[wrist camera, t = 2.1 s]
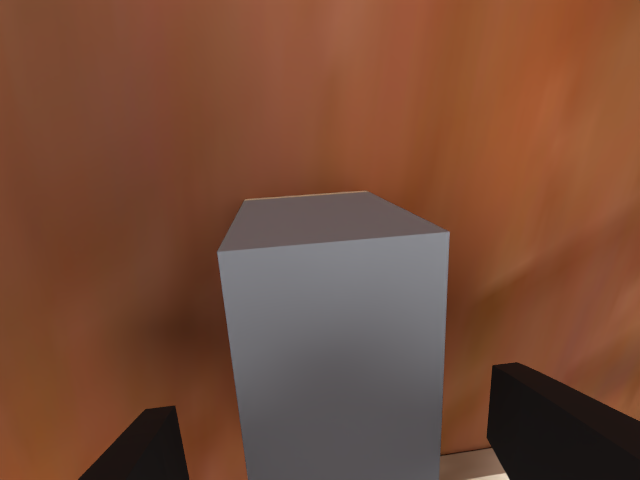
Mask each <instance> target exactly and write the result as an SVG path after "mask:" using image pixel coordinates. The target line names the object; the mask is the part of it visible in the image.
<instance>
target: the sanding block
mask: <svg viewBox="0 0 640 480" xmlns="http://www.w3.org/2000/svg"><path fill="white" fill-rule="evenodd" d="M449 235H450V232H449V231H447V230H445V229H443V228H441V227H439V226H437V225H435V224H433V223H431V222H429V221H427V220H425V219H423V218H421V217H419V216H417V215H415V214H413V213H411V212H409V211H407V210H405V209H402V208H400V207H398V206H396V205H394V204H392V203H390V202H388V201H386V200H384V199H382V198H380V197H378V196H376V195H374V194H372V193H370V192H368V191H353V192H339V193H325V194H311V195H297V196H283V197H269V198H255V199H245V200H244V202H243V204H242V205H241V207H240V209H239V211H238V213H237V215H236V217H235V219H234V221H233V223H232V224H231V226H230V228H229V230H228V232H227V234H226V236H225V238H224V240H223V242H222V244H221V245H220V247H219V249H218V251H217V255H218V262H219V269H220V277H221V284H222V291H223V299H224V306H225V314H226V321H227V328H228V336H229V343H230V350H231V358H232V365H233V372H234V380H235V387H236V395H237V402H238V409H239V417H240V424H241V431H242V439H243V446H244V453H245V461H246V468H247V476H248V480H439V470H440V447H441V423H442V400H443V376H444V352H445V329H446V305H447V282H448V258H449Z"/></svg>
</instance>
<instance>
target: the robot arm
mask: <svg viewBox="0 0 640 480" xmlns="http://www.w3.org/2000/svg"><path fill="white" fill-rule="evenodd" d="M487 439H488V441H489V443H490V445H491V447H492V448H493V450H494V452H495V454H496V456H497V458H498V460H499V462H500V464H501V465H502V467H503V469H504V471H505V472H506V474H507V476H508V478H509V480H640V421H638V420H636V419H634V418H632V417H630V416H627V415H625V414H623V413H621V412H619V411H617V410H615V409H613V408H611V407H609V406H607V405H605V404H603V403H601V402H599V401H597V400H595V399H593V398H591V397H589V396H587V395H585V394H583V393H581V392H579V391H577V390H575V389H573V388H571V387H569V386H567V385H565V384H563V383H561V382H559V381H557V380H555V379H553V378H551V377H549V376H546V375H544V374H542V373H540V372H538V371H536V370H534V369H532V368H529V367H527V366H525V365H522V364H520V363H517V362H515V363H508V364H500V365H493V366H492V378H491V390H490V402H489V415H488V427H487ZM78 480H189V475H188V470H187V465H186V460H185V454H184V449H183V444H182V439H181V434H180V428H179V423H178V418H177V413H176V408H175V406H168V407H160V408H152V409H145V410H144V411H143V412H142V413H141V414H140V415H139V416H138V417H137V418H136V419H135V421H134V422H133V423H132V424H131V425H130V426H129V427H128V428H127V429H126V430H125V431H124V432H123V433H122V434H121V435H120V436H119V437H118V438H117V439H116V440H115V442H114V443H113V444H112V445H111V446H110V447H109V448H108V449H107V450H106V451H105V452H104V453H103V454H102V455H101V456H100V457H99V458H98V459H97V461H96V462H95V463H94V464H93V465H92V466H91V467H90V468H89V469H88V470H87V471H86V472H85V473H84V474H83V475H82V476H81V477H80V478H79V479H78Z"/></svg>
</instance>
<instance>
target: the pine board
mask: <svg viewBox="0 0 640 480" xmlns="http://www.w3.org/2000/svg"><path fill="white" fill-rule="evenodd" d="M439 480H509V478H508V476H507V474H506V472H505V471H504V469H503V467H502V465H501V464H500V462H499V460H498V458H497V456H496V454H495V452H494V450H493V448H489V449H483V450H477V451H470V452H464V453H457V454H451V455H445V456H440V470H439Z"/></svg>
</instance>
